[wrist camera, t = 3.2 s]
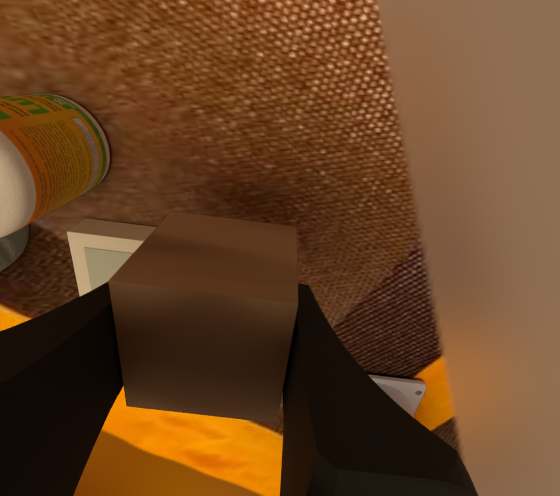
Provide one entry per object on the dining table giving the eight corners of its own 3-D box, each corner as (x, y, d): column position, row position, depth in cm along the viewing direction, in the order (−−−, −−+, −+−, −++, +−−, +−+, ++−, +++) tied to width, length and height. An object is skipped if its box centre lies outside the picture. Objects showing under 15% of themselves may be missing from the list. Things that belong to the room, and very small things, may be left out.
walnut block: (281, 323, 14) (276, 423, 10) (175, 310, 14) (126, 406, 10) (297, 226, 12) (298, 303, 8) (171, 211, 12) (108, 280, 8)
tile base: (221, 340, 25) (216, 361, 23) (104, 326, 25) (89, 346, 23) (227, 235, 21) (220, 251, 19) (86, 218, 21) (65, 232, 19)
